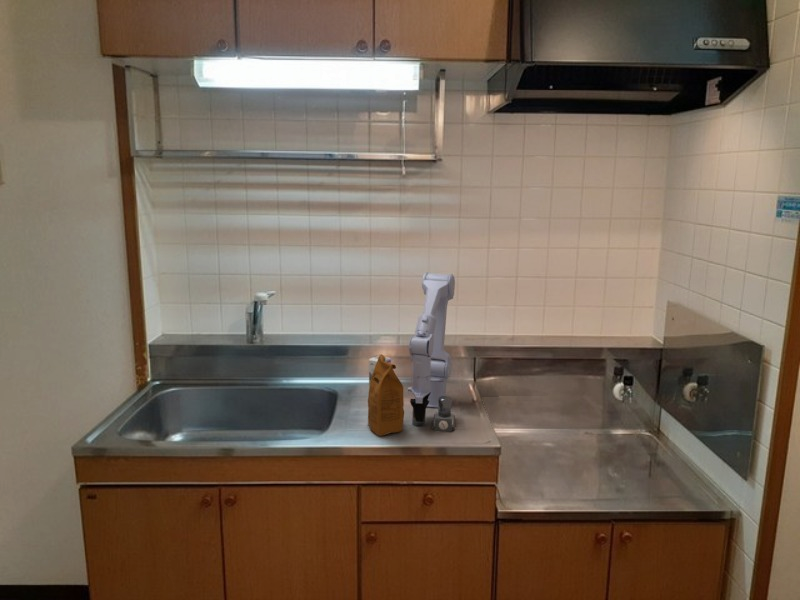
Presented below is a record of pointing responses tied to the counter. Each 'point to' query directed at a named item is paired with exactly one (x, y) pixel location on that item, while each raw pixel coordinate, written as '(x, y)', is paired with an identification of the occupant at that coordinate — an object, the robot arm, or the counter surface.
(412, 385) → the robot arm
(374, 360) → the syrup box
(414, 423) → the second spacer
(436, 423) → the dial scale
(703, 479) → the counter surface
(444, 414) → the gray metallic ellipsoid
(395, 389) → the coffee package
